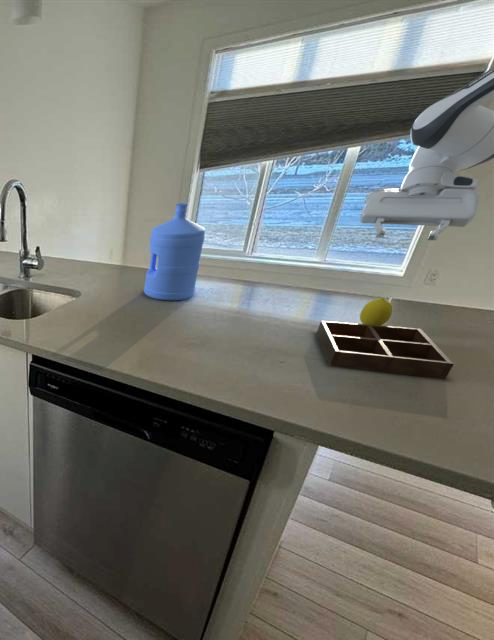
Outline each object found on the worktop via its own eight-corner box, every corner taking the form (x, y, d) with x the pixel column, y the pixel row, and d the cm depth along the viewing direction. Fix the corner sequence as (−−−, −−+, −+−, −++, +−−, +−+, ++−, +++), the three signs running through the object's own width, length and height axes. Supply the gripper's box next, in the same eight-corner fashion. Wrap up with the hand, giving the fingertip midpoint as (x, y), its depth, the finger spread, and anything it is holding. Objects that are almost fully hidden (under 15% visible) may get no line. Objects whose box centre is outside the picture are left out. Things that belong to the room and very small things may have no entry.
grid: (413, 342, 94) (420, 328, 92) (445, 379, 80) (454, 363, 79) (316, 333, 102) (320, 320, 100) (329, 365, 88) (335, 351, 87)
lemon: (364, 322, 105) (377, 293, 101) (389, 330, 101) (403, 299, 97) (349, 326, 104) (361, 296, 100) (373, 334, 99) (387, 303, 95)
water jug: (200, 290, 136) (217, 200, 122) (184, 304, 127) (201, 208, 113) (154, 284, 146) (165, 200, 132) (136, 297, 136) (146, 207, 122)
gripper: (372, 180, 105) (353, 227, 104) (490, 179, 92) (470, 232, 91) (366, 197, 110) (348, 241, 109) (478, 198, 97) (459, 248, 96)
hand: (405, 237), depth 100 cm, fingers open, 8 cm apart
